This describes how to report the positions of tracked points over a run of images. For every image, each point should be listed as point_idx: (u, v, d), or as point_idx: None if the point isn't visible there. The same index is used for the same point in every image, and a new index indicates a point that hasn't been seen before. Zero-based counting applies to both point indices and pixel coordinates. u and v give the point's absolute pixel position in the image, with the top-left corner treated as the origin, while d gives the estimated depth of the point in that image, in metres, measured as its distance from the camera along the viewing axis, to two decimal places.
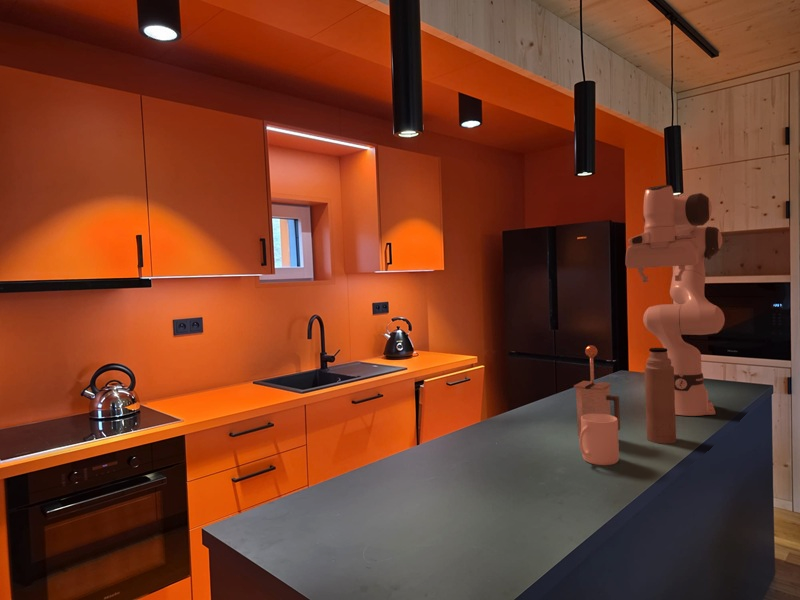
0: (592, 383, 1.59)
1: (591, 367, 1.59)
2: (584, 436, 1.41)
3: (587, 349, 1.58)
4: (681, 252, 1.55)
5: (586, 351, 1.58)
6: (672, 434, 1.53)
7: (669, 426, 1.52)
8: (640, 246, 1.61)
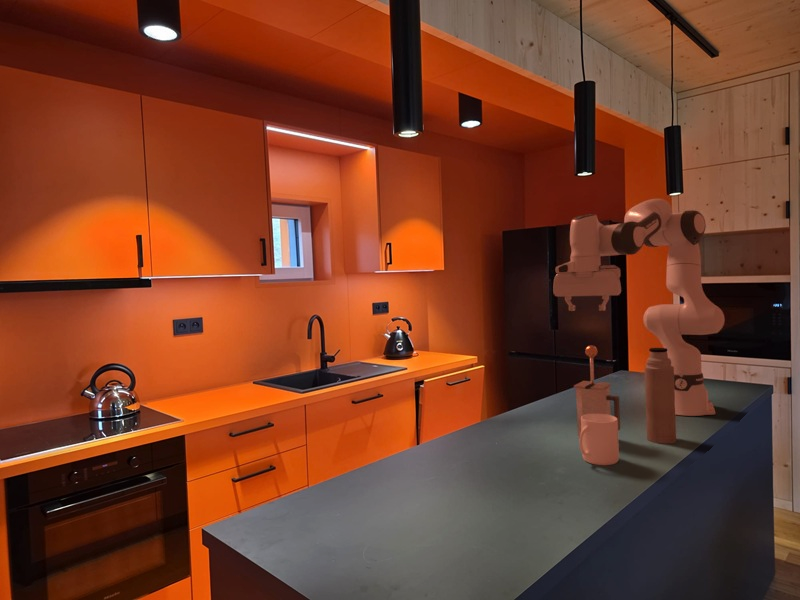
0: (592, 383, 1.59)
1: (591, 367, 1.59)
2: (584, 436, 1.41)
3: (587, 349, 1.58)
4: (604, 282, 1.55)
5: (586, 351, 1.58)
6: (672, 434, 1.53)
7: (669, 426, 1.52)
8: (566, 275, 1.62)
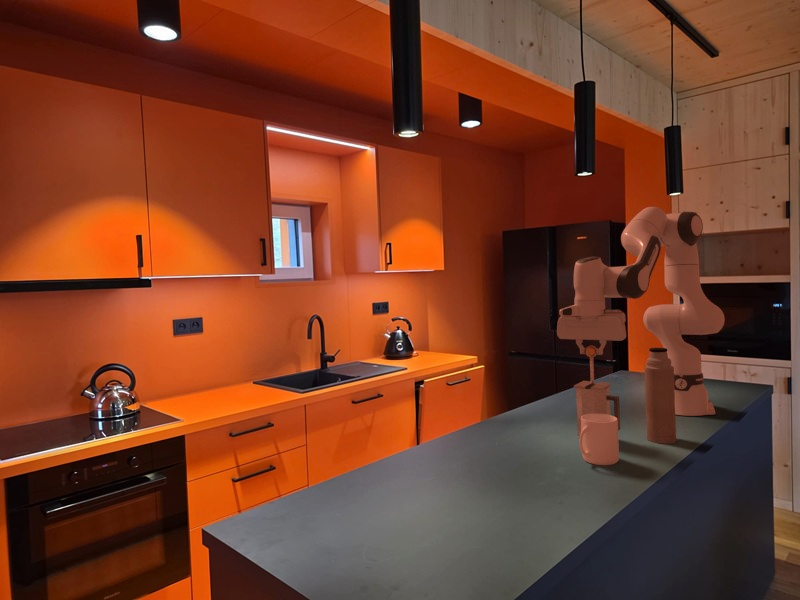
0: (592, 383, 1.59)
1: (591, 367, 1.59)
2: (584, 436, 1.41)
3: (587, 349, 1.58)
4: (609, 327, 1.54)
5: (586, 351, 1.58)
6: (672, 434, 1.53)
7: (669, 426, 1.52)
8: (570, 318, 1.60)
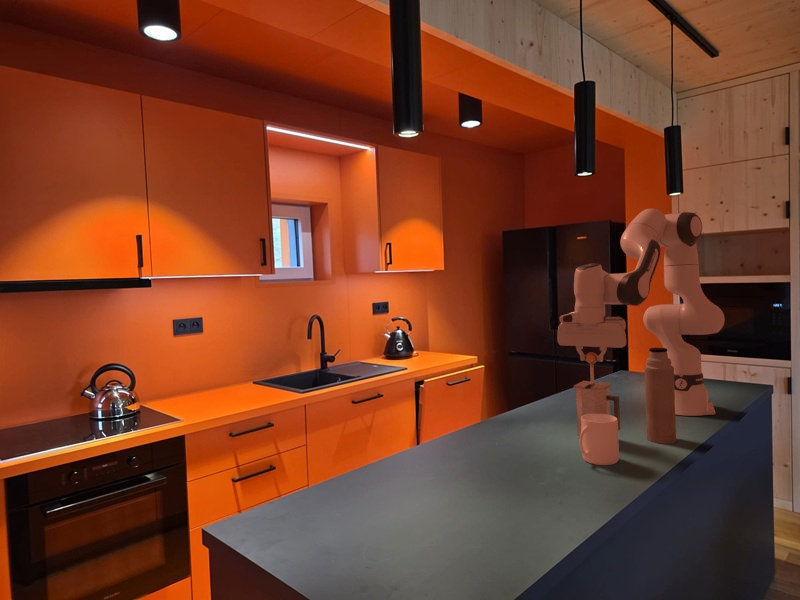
0: None
1: (592, 374, 1.59)
2: (584, 436, 1.41)
3: (587, 356, 1.58)
4: (609, 334, 1.54)
5: (586, 358, 1.59)
6: (672, 434, 1.53)
7: (669, 426, 1.52)
8: (570, 325, 1.60)
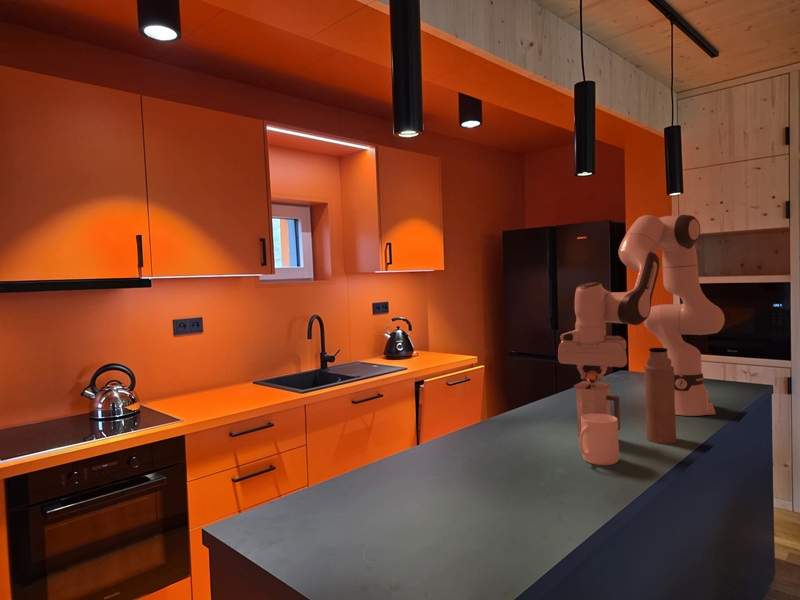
0: None
1: None
2: (584, 436, 1.41)
3: (588, 375, 1.58)
4: (610, 353, 1.54)
5: (587, 377, 1.59)
6: (672, 434, 1.53)
7: (669, 426, 1.52)
8: (571, 343, 1.60)
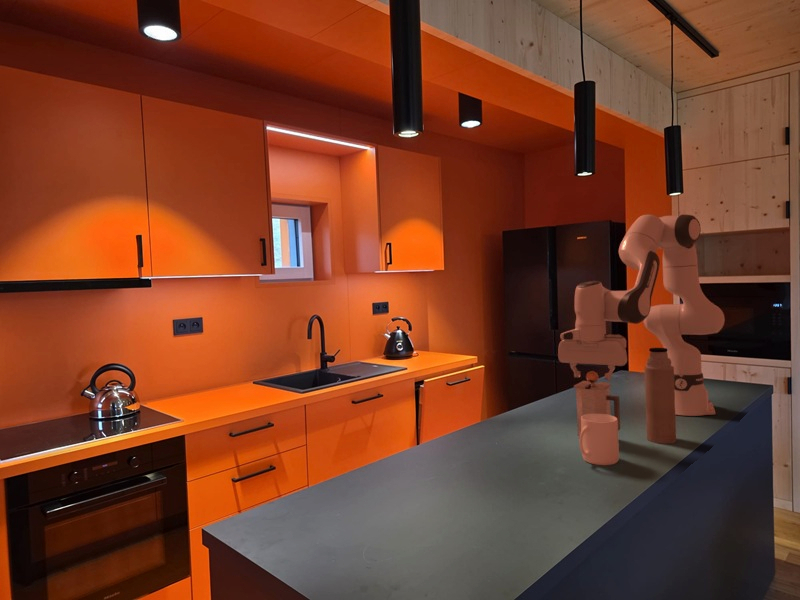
0: None
1: None
2: (584, 436, 1.41)
3: (588, 375, 1.58)
4: (610, 352, 1.54)
5: (587, 377, 1.59)
6: (672, 434, 1.53)
7: (669, 426, 1.52)
8: (571, 342, 1.60)
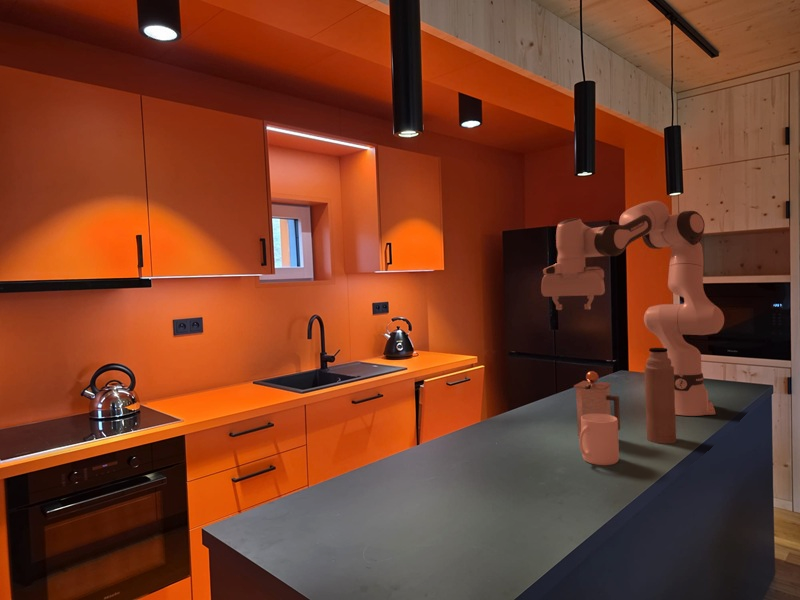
0: None
1: None
2: (584, 436, 1.41)
3: (588, 375, 1.58)
4: (589, 283, 1.65)
5: (587, 377, 1.59)
6: (672, 434, 1.53)
7: (669, 426, 1.52)
8: (553, 276, 1.71)
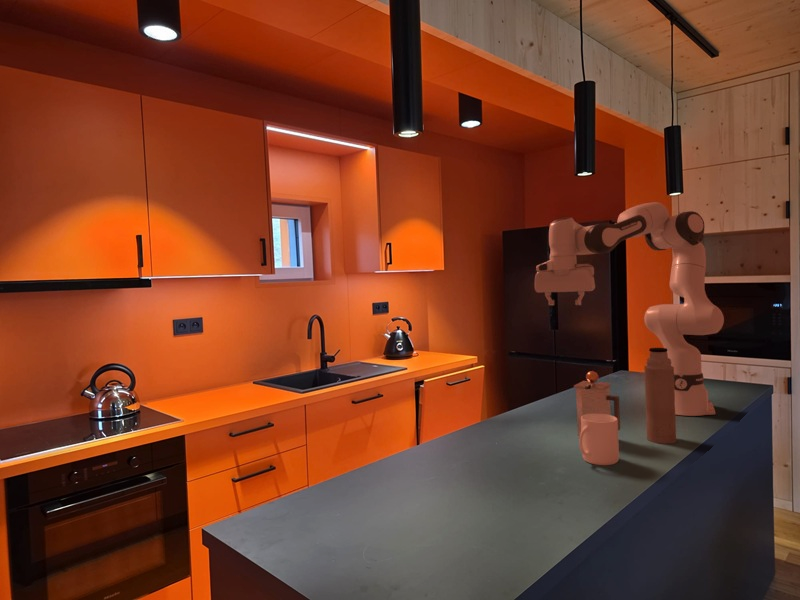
0: None
1: None
2: (584, 436, 1.41)
3: (588, 375, 1.58)
4: (579, 279, 1.72)
5: (587, 377, 1.59)
6: (672, 434, 1.53)
7: (669, 426, 1.52)
8: (546, 273, 1.78)
